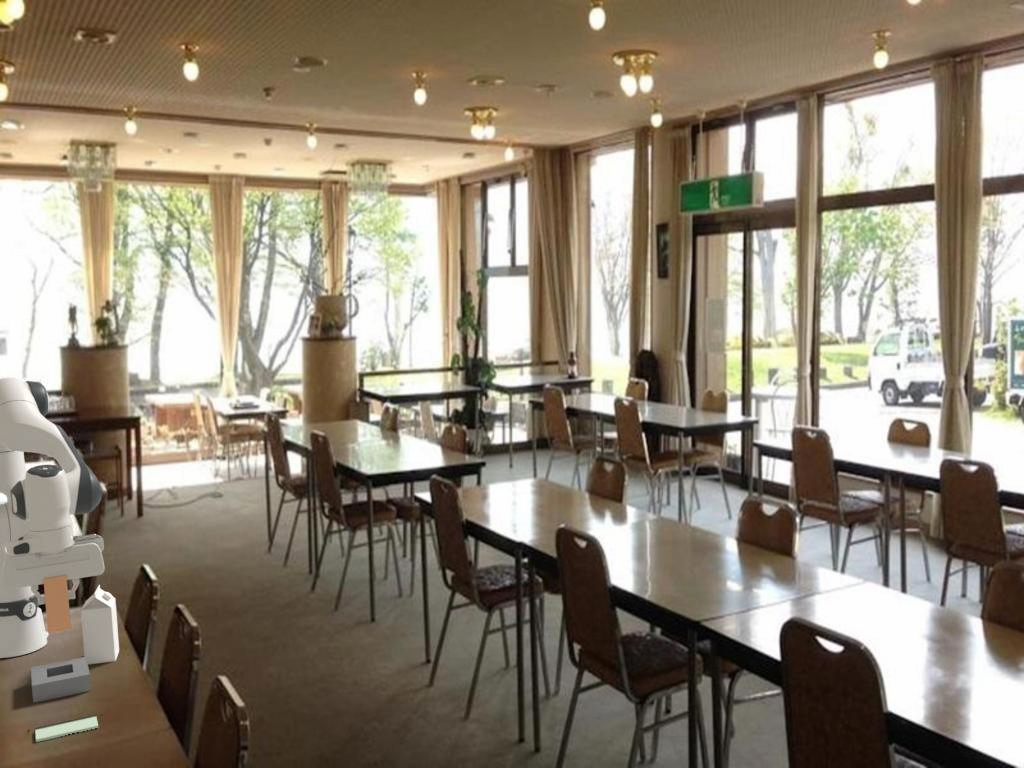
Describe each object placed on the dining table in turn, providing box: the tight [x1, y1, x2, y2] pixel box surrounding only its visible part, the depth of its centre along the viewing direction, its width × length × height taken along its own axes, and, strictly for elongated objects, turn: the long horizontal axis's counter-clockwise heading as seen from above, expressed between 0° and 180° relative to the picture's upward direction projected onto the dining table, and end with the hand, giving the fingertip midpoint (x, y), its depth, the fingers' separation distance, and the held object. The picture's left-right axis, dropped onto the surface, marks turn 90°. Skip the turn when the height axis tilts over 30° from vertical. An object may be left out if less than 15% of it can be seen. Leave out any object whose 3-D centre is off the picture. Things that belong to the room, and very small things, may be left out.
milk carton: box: [80, 584, 120, 665], centre depth 234 cm, size 7×7×19 cm
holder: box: [30, 656, 92, 704], centre depth 218 cm, size 12×12×5 cm
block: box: [43, 575, 72, 634], centre depth 204 cm, size 4×4×12 cm
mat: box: [34, 714, 99, 743], centre depth 203 cm, size 16×12×1 cm
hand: (56, 601), depth 204 cm, fingers closed on block, 4 cm apart
